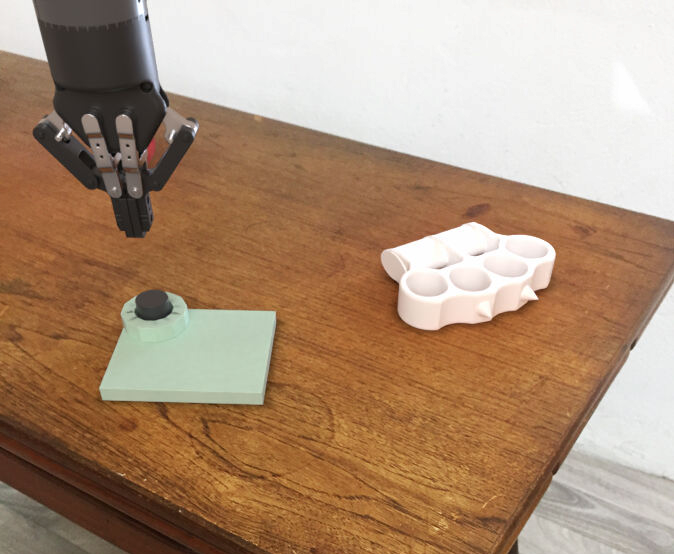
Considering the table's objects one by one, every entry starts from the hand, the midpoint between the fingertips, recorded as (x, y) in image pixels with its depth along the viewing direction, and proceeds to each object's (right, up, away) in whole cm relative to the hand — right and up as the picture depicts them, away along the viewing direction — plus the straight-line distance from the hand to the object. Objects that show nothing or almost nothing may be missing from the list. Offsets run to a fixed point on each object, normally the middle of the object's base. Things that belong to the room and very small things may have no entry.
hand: (138, 233), depth 64 cm
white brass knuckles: (+30, -2, +14) cm, 33 cm away
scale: (+4, -10, +5) cm, 12 cm away
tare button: (0, -6, +6) cm, 8 cm away
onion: (-9, +17, +32) cm, 38 cm away
